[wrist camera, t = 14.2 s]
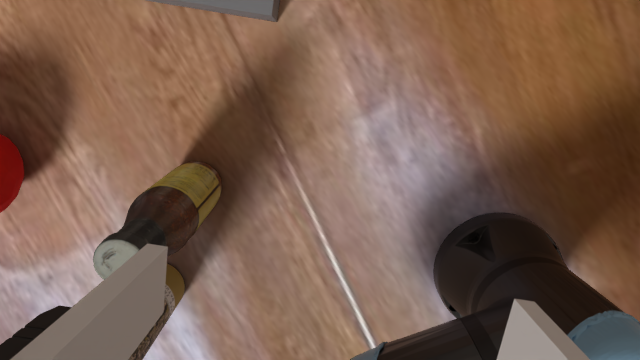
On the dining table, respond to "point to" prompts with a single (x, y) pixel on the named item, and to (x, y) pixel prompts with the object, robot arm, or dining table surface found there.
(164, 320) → the paper tube
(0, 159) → the tomato
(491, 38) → the dining table surface
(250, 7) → the socket block
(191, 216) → the sauce bottle
